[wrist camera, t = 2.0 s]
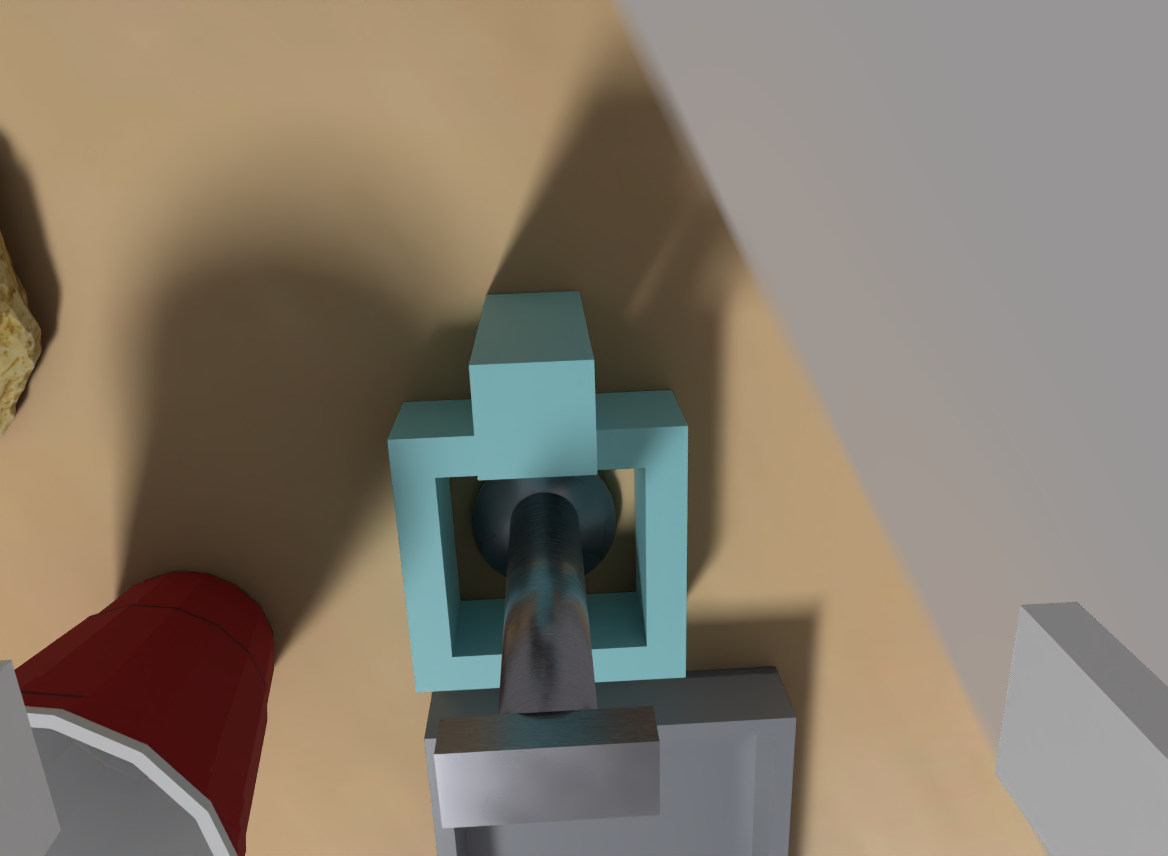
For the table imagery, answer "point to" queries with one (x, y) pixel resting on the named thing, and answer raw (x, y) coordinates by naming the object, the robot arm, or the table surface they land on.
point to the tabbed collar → (531, 450)
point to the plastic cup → (154, 720)
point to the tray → (664, 773)
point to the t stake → (546, 674)
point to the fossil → (14, 339)
